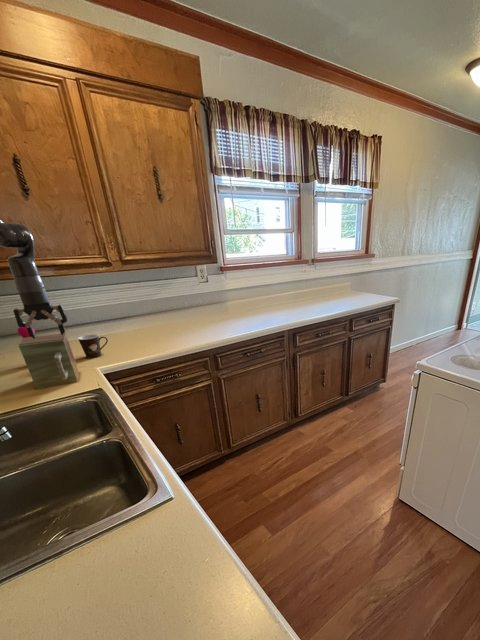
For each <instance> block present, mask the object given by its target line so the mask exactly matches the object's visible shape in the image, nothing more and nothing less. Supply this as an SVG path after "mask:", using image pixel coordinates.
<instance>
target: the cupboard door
mask: <svg viewBox="0 0 480 640" xmlns="http://www.w3.org/2000/svg"><path fill="white" fill-rule="evenodd" d="M18 348H19V350H20V352H21V356H22V357H23V360H24V362H25V365H26V367H27V369H28V372H29V374H30V377H31V379H32V382H33V384H34V388H35V389H36V390H38V389H39V390H40V389H45V388H49V387H51V388H52V387H56V386H61V385H69V384H74V383H78V382H79V379H78V380H77V377H76V374H75V371H74V368H73V365H72V362H71V359H70V357H69V354H68V351H67V348H66V345H65V342H64V340H58V341H49V342H41V343H33V344H24V345H19V344H18Z"/></svg>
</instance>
